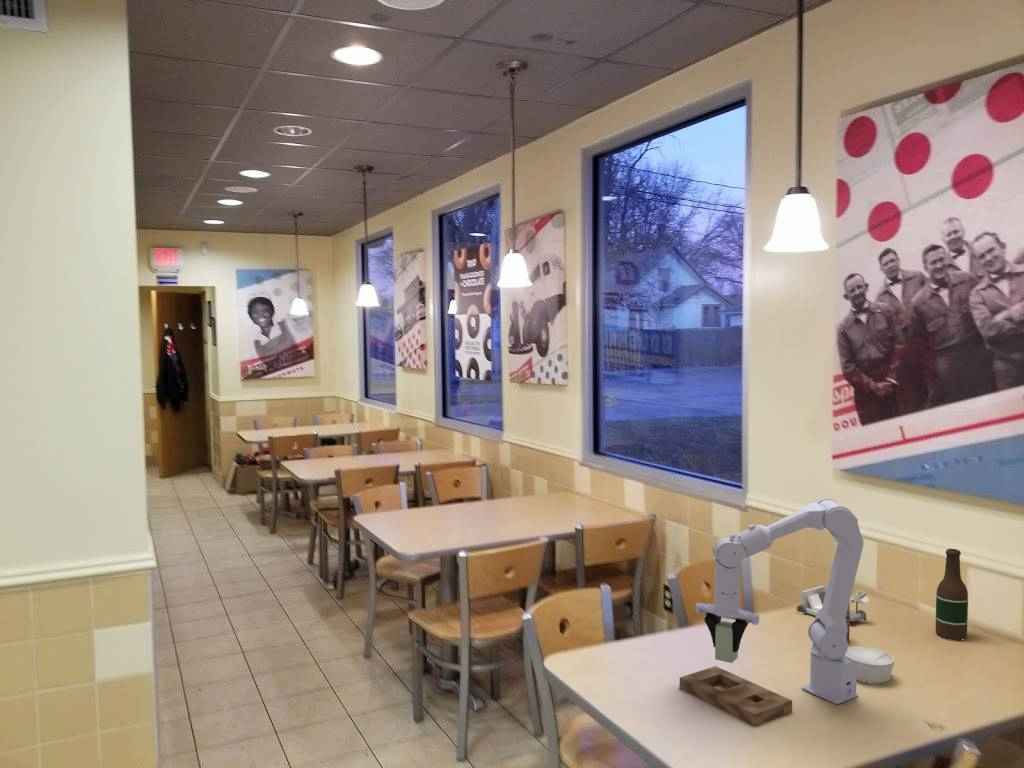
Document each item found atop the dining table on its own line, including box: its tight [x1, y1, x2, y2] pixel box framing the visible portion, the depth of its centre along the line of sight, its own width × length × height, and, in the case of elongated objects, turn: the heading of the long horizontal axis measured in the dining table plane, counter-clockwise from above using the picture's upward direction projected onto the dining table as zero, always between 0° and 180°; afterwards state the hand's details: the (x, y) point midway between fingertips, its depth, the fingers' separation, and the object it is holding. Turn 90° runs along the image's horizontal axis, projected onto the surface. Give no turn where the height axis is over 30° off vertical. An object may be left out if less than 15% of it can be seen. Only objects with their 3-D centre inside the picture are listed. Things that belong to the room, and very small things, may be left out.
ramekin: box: [844, 646, 895, 684], centre depth 189 cm, size 11×11×5 cm
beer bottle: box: [935, 548, 969, 641], centre depth 214 cm, size 8×8×24 cm
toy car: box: [796, 585, 870, 622], centre depth 229 cm, size 18×10×12 cm
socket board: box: [679, 665, 793, 727], centre depth 176 cm, size 22×12×2 cm, turn 33°
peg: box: [714, 620, 739, 664], centre depth 182 cm, size 4×4×8 cm
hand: (726, 648), depth 182 cm, fingers closed on peg, 4 cm apart
